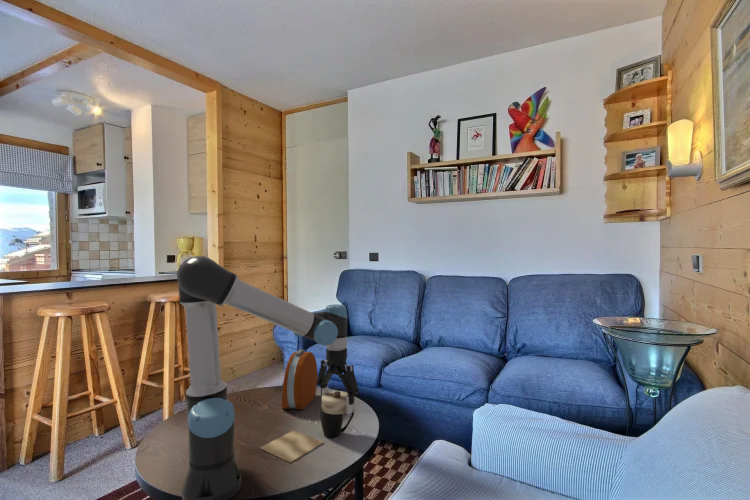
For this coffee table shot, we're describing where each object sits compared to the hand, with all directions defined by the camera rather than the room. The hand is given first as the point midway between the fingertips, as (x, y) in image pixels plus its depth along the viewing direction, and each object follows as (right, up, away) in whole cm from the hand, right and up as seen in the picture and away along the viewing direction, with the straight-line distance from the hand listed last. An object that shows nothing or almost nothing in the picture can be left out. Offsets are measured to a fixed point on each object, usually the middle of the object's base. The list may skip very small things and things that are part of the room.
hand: (337, 409), depth 138 cm
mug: (0, -9, 0) cm, 9 cm away
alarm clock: (-20, -9, +29) cm, 36 cm away
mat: (-14, -9, -8) cm, 19 cm away
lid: (0, 0, 0) cm, 0 cm away
